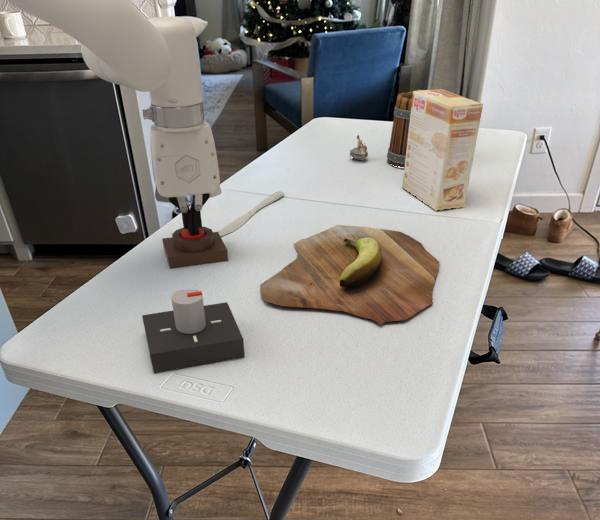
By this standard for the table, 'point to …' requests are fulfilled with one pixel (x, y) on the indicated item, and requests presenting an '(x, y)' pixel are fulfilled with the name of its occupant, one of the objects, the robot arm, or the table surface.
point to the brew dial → (188, 311)
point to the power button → (186, 235)
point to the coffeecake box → (441, 147)
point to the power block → (194, 249)
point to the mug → (400, 130)
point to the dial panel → (193, 339)
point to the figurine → (359, 151)
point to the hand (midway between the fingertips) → (193, 231)
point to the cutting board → (357, 274)
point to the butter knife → (249, 214)
